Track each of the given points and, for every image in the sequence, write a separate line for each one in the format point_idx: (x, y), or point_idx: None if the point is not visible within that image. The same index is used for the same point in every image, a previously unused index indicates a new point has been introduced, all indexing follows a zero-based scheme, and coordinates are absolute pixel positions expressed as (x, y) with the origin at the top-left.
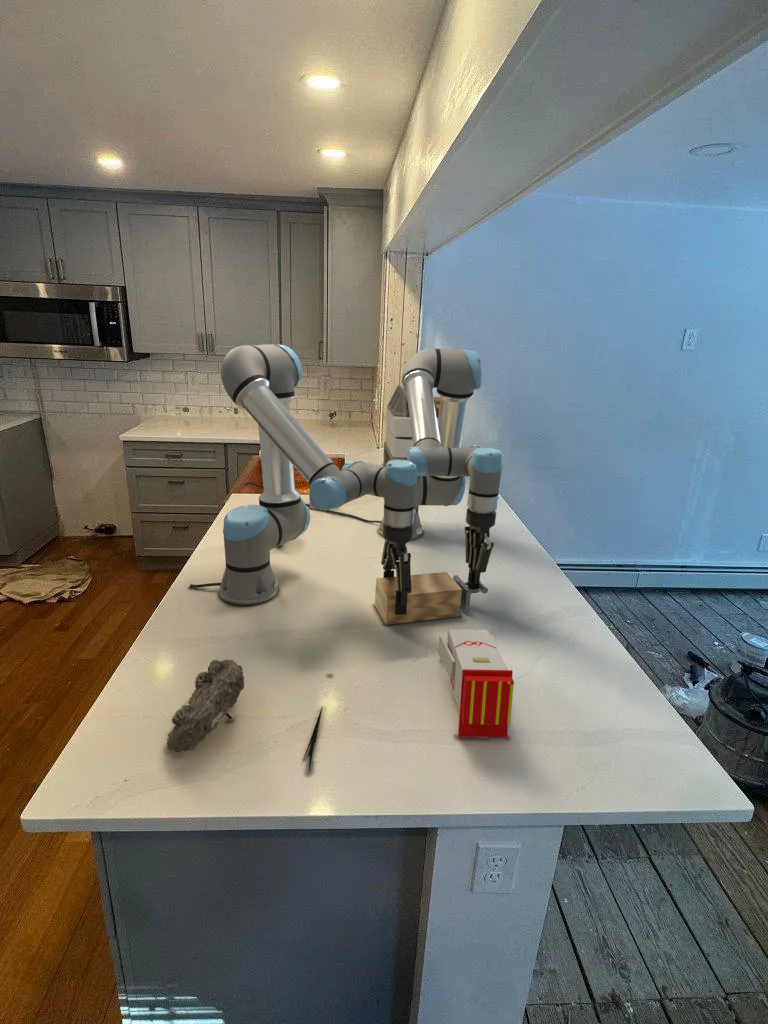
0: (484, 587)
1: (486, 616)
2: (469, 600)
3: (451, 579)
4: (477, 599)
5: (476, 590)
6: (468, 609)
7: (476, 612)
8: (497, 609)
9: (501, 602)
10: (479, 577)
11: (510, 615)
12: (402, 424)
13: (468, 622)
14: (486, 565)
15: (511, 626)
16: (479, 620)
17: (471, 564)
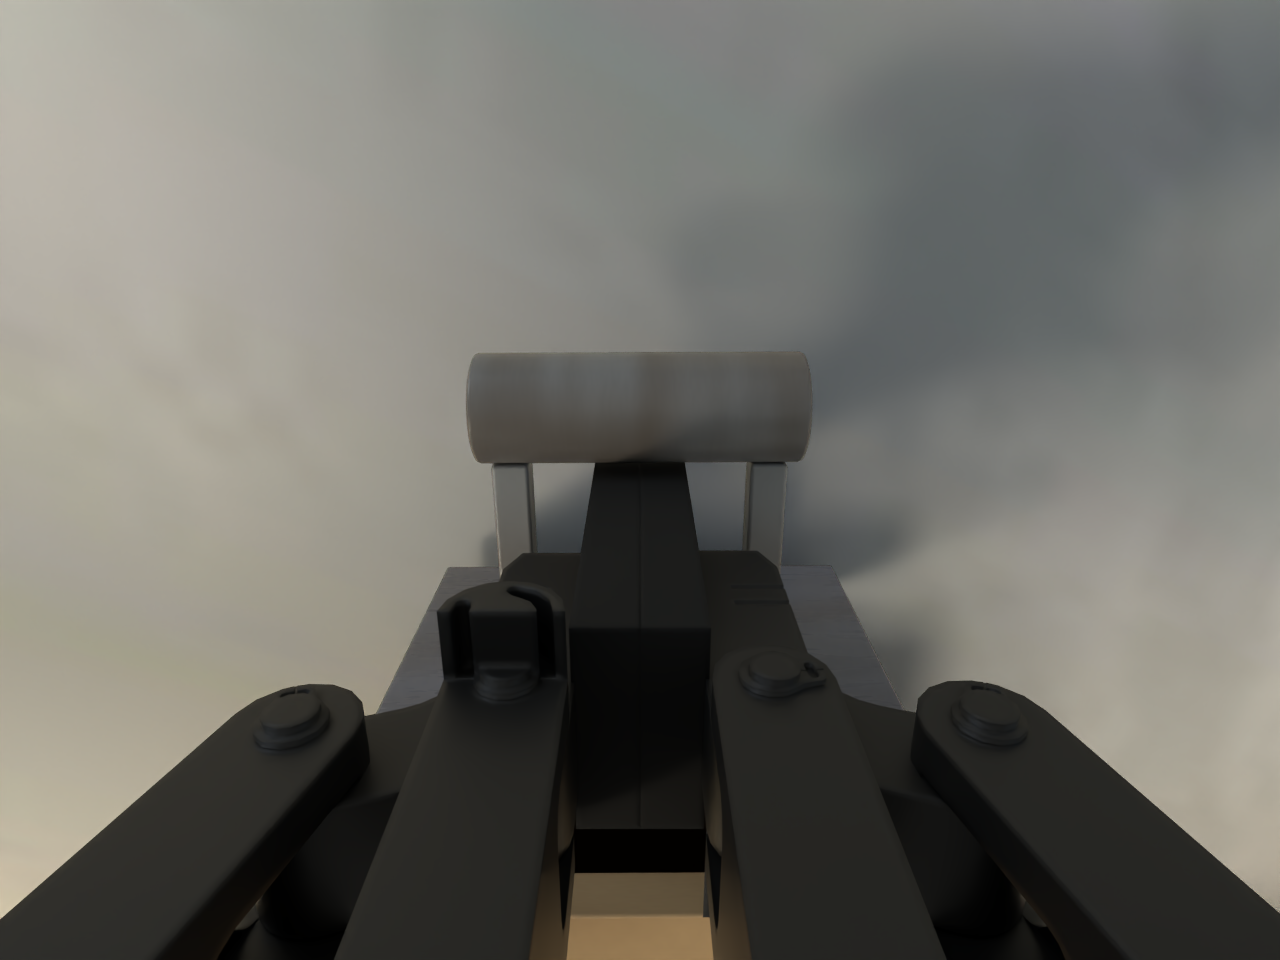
0: (798, 436)
1: (928, 383)
2: (866, 643)
3: (605, 937)
4: (532, 312)
5: (781, 550)
6: (834, 580)
7: (815, 454)
8: (825, 168)
9: (669, 9)
10: (791, 622)
11: (1015, 63)
12: None
13: (967, 609)
14: (1240, 914)
15: (1235, 192)
16: (974, 492)
17: (570, 894)
